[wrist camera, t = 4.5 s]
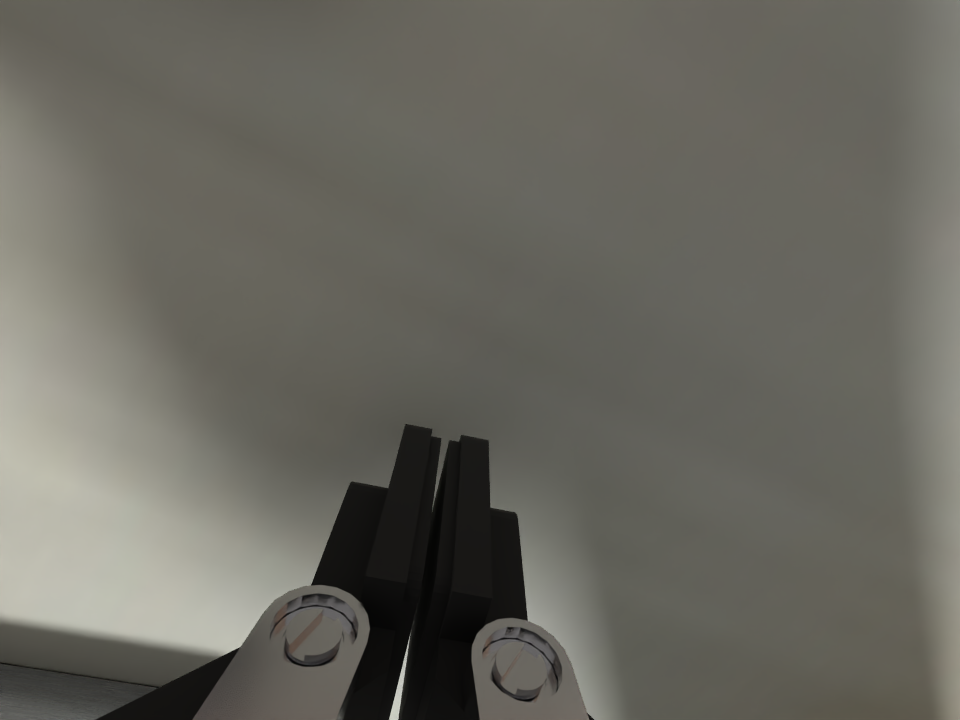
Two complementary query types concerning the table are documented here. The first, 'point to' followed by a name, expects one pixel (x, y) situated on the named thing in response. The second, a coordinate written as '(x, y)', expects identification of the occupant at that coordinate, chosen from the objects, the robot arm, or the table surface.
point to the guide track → (61, 695)
